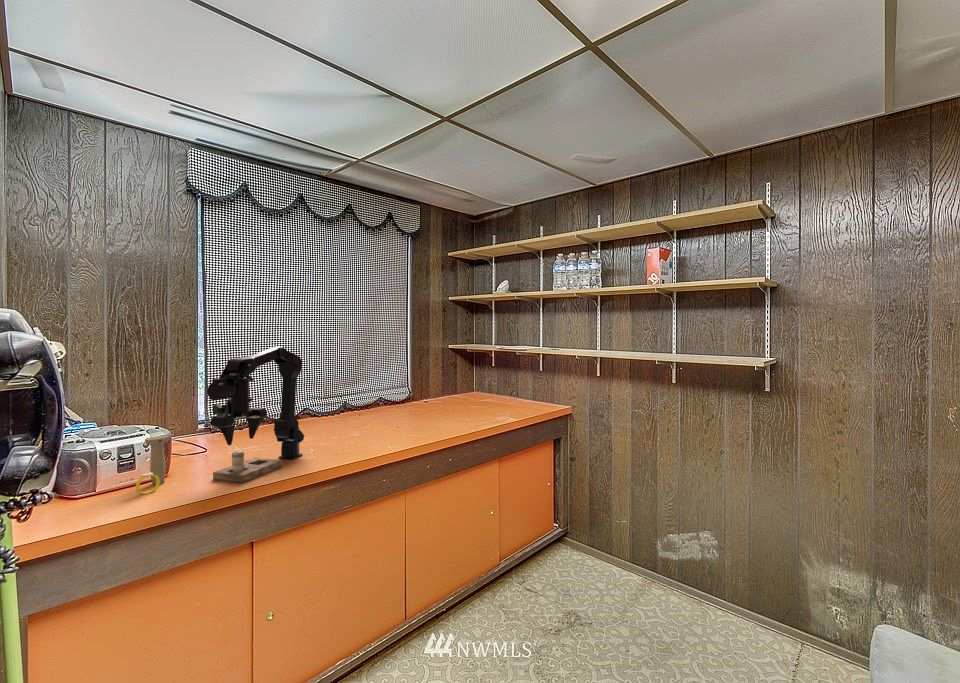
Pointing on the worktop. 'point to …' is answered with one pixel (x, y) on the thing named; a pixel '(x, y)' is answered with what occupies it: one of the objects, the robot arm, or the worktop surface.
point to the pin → (237, 461)
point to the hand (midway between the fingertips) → (240, 441)
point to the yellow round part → (145, 477)
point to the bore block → (248, 470)
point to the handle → (157, 457)
